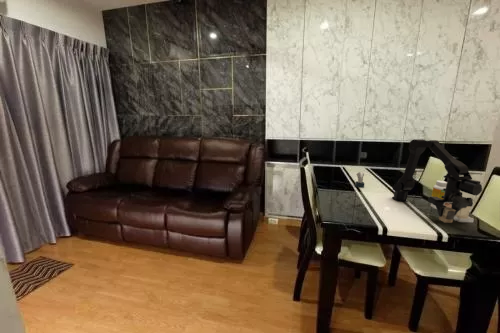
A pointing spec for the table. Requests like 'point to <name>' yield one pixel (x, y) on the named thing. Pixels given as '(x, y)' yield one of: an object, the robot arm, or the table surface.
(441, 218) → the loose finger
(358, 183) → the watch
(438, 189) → the supplement bottle
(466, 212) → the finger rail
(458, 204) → the robot arm
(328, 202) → the table surface
